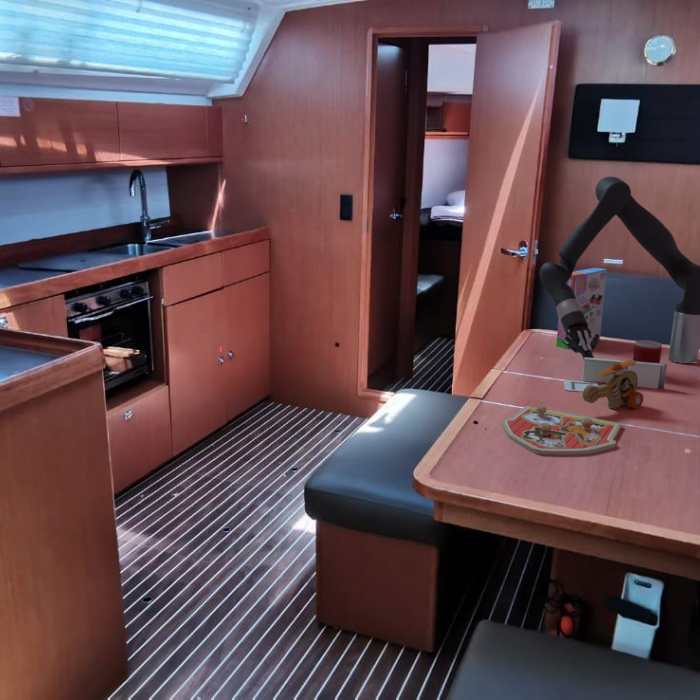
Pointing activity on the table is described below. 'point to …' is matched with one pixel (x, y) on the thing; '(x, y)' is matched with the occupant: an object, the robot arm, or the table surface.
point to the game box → (587, 299)
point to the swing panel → (597, 369)
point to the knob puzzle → (560, 432)
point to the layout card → (577, 385)
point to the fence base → (649, 374)
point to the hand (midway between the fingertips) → (590, 362)
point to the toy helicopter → (616, 387)
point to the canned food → (647, 351)
